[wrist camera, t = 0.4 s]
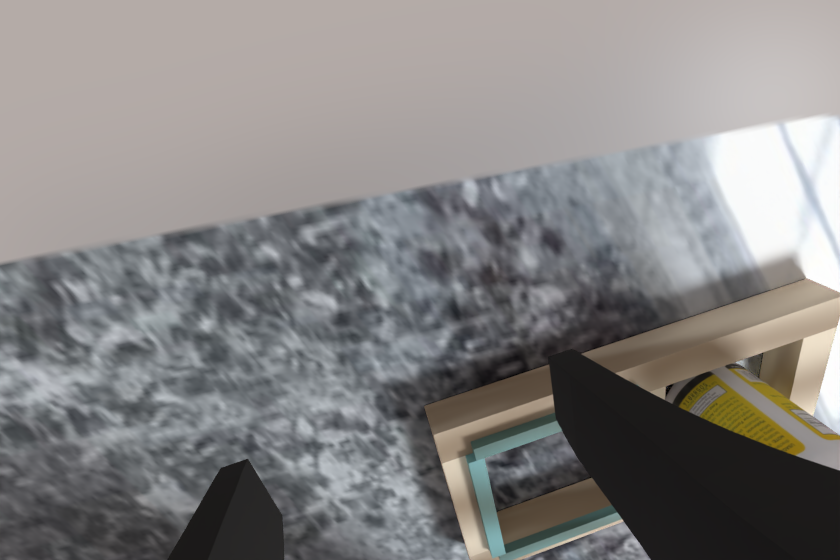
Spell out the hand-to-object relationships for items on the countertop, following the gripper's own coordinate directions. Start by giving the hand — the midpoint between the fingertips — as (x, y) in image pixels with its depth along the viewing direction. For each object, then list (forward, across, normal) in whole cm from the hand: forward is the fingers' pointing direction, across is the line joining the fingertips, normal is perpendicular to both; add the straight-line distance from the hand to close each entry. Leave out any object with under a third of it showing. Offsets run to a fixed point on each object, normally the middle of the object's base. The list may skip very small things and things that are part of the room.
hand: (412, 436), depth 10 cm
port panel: (+10, -12, +14) cm, 21 cm away
